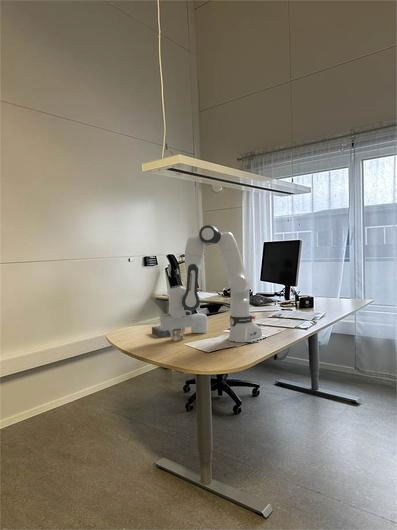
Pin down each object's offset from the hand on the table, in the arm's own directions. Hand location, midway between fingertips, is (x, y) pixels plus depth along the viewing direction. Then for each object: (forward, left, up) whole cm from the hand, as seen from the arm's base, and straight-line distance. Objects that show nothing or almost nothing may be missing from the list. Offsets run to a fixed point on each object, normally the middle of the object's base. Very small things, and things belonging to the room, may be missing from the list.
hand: (177, 335), depth 211 cm
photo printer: (-19, -7, -2) cm, 20 cm away
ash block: (0, 0, -2) cm, 2 cm away
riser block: (0, -16, -2) cm, 16 cm away
